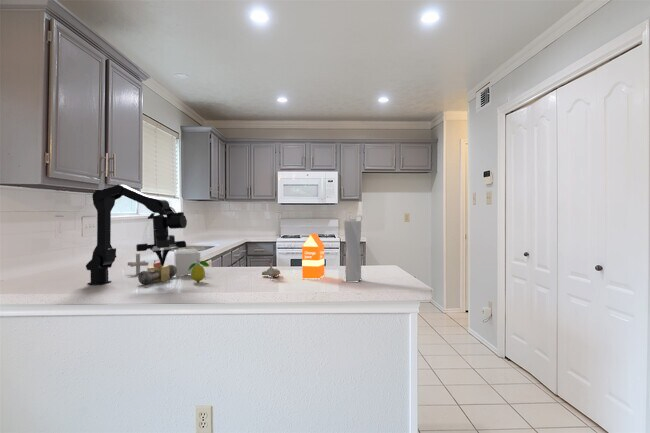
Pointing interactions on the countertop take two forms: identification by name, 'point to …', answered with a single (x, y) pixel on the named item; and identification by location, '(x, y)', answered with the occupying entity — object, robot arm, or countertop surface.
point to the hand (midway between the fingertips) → (162, 266)
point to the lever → (156, 263)
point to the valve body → (157, 274)
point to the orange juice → (313, 257)
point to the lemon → (198, 271)
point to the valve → (271, 272)
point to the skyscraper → (353, 249)
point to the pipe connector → (138, 263)
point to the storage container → (185, 260)
